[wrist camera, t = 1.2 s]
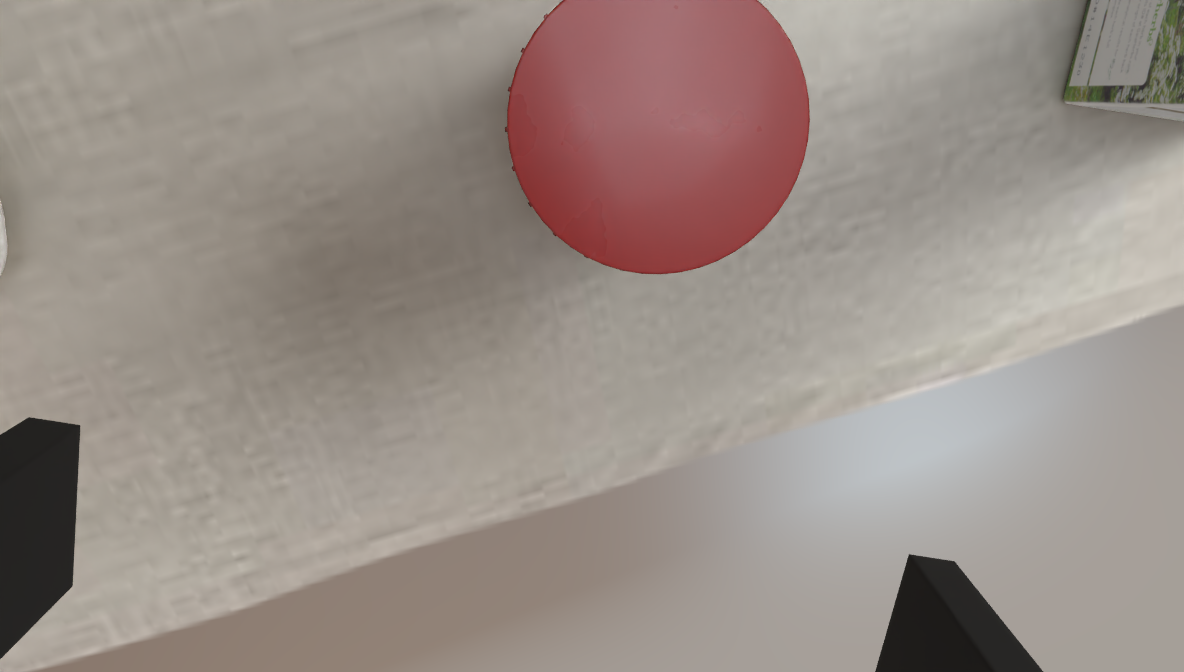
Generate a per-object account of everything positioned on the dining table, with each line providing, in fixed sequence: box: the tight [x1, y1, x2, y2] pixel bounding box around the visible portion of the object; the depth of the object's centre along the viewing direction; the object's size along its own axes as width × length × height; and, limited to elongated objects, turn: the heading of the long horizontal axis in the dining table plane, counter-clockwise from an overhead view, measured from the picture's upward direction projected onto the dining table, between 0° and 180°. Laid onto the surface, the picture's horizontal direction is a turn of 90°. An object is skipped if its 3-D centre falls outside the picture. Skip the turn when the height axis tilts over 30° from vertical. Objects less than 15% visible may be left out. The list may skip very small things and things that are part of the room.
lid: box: [505, 0, 810, 274], centre depth 24 cm, size 7×7×2 cm
